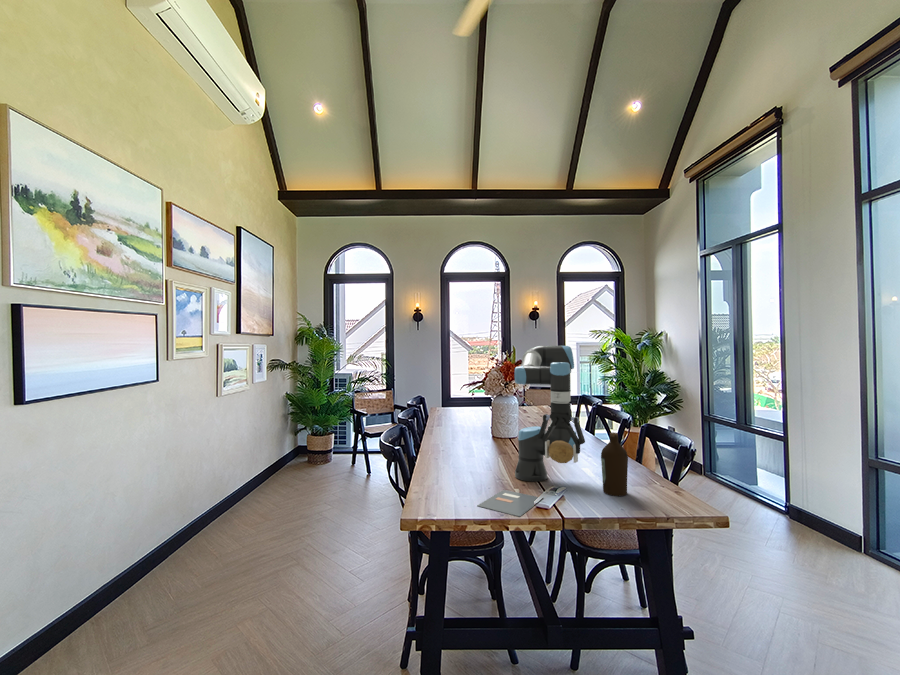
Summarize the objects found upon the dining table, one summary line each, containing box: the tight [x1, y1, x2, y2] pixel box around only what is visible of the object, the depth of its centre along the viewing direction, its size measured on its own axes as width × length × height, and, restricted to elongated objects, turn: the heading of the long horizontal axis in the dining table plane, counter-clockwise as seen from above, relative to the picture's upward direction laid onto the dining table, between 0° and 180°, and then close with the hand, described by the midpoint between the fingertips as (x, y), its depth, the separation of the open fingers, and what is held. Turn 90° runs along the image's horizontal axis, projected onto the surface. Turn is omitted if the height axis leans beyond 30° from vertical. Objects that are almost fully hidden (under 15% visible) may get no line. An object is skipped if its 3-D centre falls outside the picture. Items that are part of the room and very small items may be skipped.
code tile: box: [477, 489, 539, 518], centre depth 161 cm, size 22×18×1 cm
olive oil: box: [600, 431, 629, 497], centre depth 173 cm, size 11×11×25 cm
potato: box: [549, 441, 573, 464], centre depth 157 cm, size 10×14×8 cm
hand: (561, 459), depth 157 cm, fingers closed on potato, 10 cm apart
